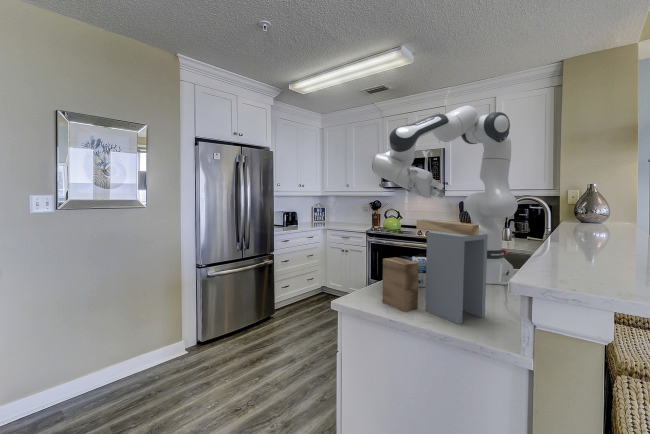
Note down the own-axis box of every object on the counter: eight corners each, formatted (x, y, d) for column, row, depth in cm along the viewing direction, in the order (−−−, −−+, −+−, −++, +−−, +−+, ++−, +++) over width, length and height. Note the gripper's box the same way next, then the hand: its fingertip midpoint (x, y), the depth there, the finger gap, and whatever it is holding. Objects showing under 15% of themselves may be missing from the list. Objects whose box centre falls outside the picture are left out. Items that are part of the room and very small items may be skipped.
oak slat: (423, 228, 115) (423, 219, 115) (478, 234, 96) (479, 224, 96) (416, 228, 113) (416, 220, 113) (471, 235, 94) (471, 225, 94)
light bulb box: (430, 287, 131) (430, 261, 130) (413, 286, 132) (413, 261, 132) (427, 280, 141) (427, 256, 141) (411, 280, 143) (411, 256, 142)
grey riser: (450, 304, 111) (452, 229, 109) (484, 316, 100) (487, 234, 98) (425, 310, 105) (427, 231, 103) (458, 324, 94) (461, 236, 92)
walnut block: (395, 299, 117) (396, 257, 116) (417, 308, 107) (418, 262, 106) (382, 301, 114) (382, 258, 113) (403, 311, 104) (404, 264, 103)
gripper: (410, 159, 114) (447, 174, 108) (415, 179, 133) (447, 193, 127) (401, 174, 114) (438, 190, 108) (408, 192, 133) (439, 207, 127)
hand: (443, 192), depth 118 cm, fingers open, 8 cm apart
